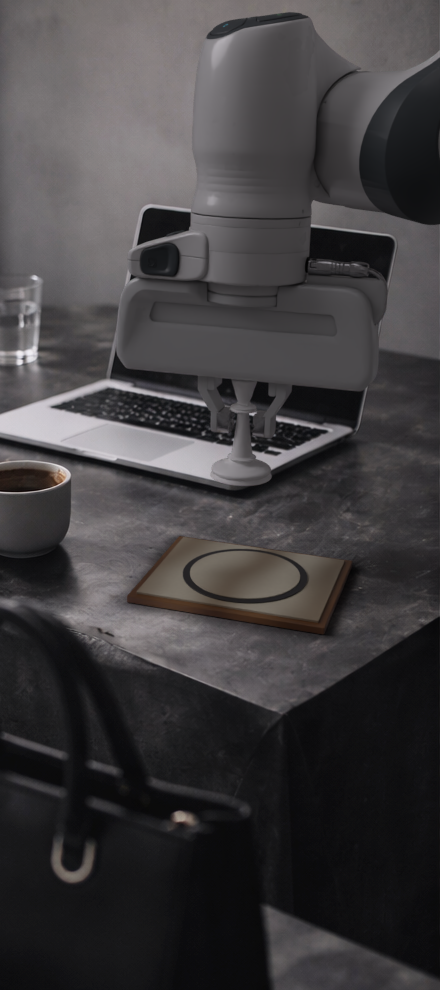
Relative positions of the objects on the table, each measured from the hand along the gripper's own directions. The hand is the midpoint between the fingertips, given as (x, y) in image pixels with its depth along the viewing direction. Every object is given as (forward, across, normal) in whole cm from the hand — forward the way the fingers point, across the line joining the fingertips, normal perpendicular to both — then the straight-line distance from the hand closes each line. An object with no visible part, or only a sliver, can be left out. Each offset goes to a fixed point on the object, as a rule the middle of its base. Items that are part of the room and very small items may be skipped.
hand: (242, 433), depth 77 cm
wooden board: (+13, -1, 0) cm, 13 cm away
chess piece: (+4, 0, 0) cm, 4 cm away
